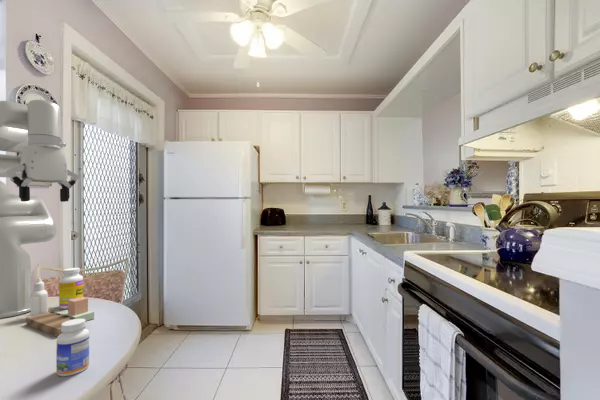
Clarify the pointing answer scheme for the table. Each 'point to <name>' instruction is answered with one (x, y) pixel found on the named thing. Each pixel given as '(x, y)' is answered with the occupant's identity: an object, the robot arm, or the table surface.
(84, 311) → the stub
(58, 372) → the pill bottle
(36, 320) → the board
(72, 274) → the supplement bottle
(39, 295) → the eye dropper bottle
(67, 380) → the table surface
